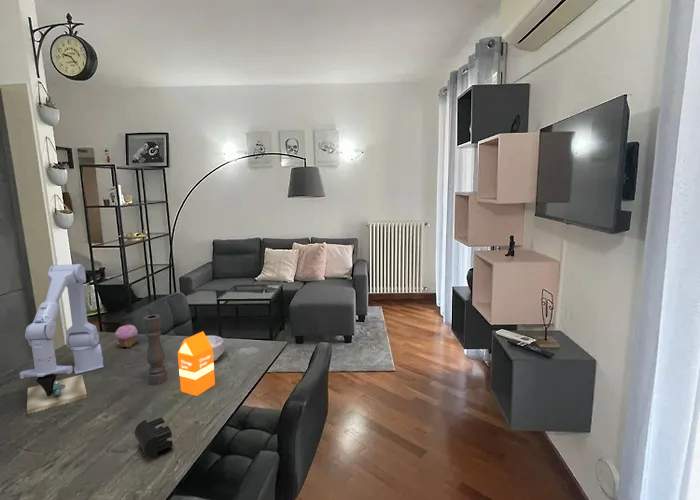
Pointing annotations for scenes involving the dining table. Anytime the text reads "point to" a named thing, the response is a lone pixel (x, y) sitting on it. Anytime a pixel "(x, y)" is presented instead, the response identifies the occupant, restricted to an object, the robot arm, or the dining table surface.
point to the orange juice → (196, 364)
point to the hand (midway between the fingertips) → (50, 394)
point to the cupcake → (126, 335)
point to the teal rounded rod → (57, 388)
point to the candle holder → (155, 350)
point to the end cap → (154, 438)
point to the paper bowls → (216, 346)
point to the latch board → (70, 392)
